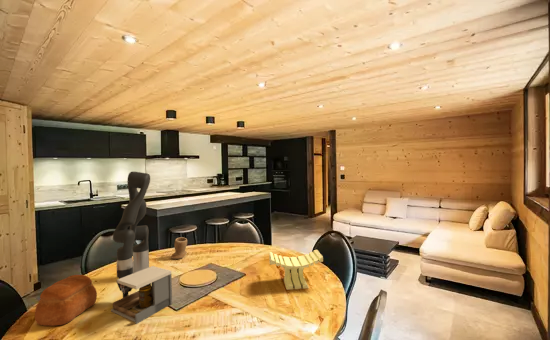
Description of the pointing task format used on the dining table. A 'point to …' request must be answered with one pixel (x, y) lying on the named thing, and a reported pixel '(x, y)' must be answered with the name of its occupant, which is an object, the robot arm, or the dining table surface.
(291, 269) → the slatted curved stool
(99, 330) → the dining table surface
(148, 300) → the condiment
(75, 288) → the bread
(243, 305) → the dining table surface
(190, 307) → the dining table surface
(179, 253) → the brown boot
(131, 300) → the tray
